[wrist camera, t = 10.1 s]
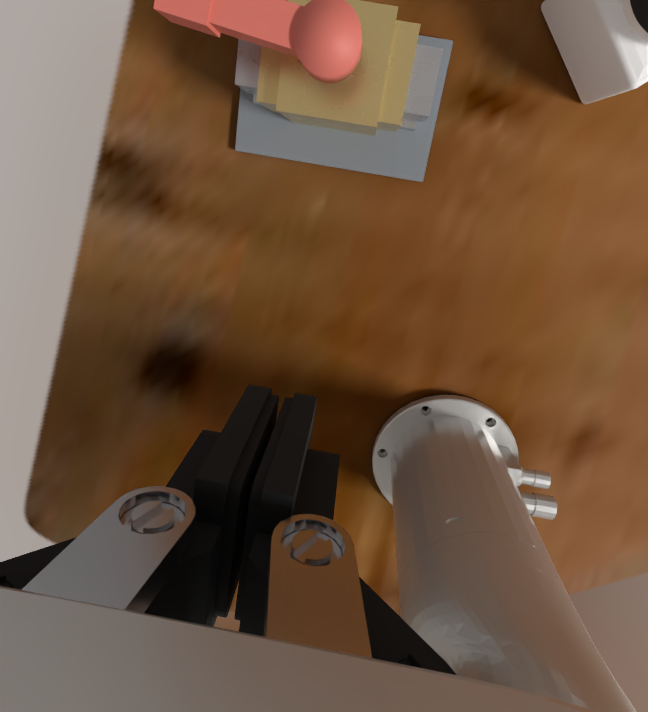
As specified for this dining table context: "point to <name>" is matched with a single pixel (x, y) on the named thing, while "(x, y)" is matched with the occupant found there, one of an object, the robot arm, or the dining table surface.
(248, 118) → the mat
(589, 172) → the dining table surface
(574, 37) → the medicine bottle
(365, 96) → the valve
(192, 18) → the lever
